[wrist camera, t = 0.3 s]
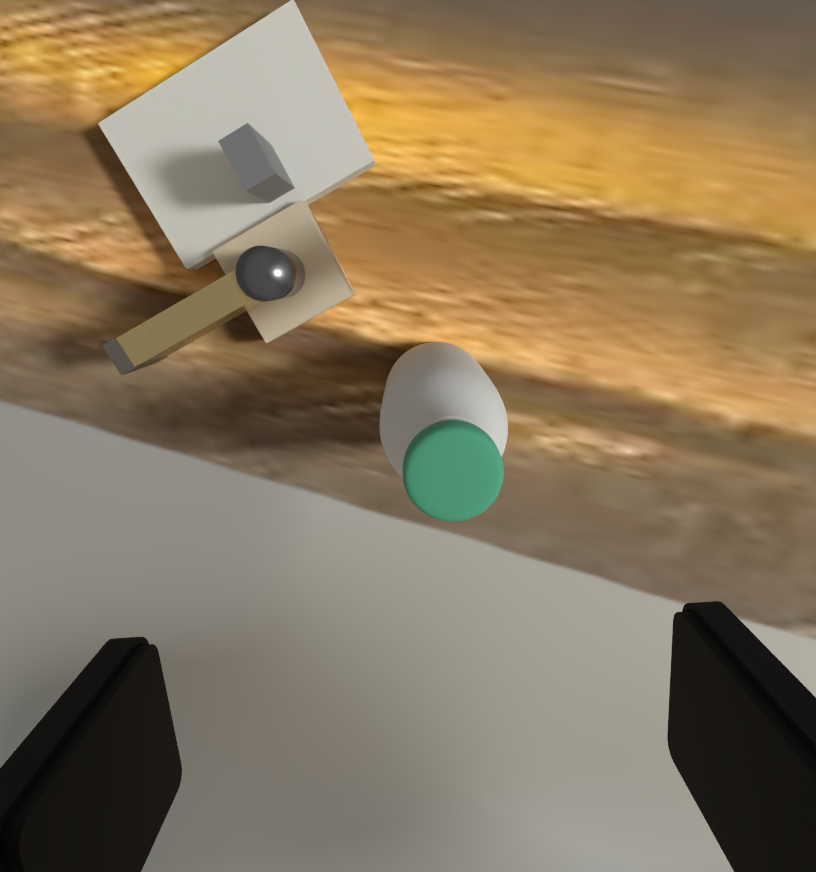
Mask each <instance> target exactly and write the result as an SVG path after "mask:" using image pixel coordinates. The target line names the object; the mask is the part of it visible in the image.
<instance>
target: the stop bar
mask: <svg viewBox="0 0 816 872" xmlns="http://www.w3.org/2000/svg"><path fill="white" fill-rule="evenodd" d="M304 282H305V268H304V265H303V263H302V261H301V260H300V259H299V257H298V256H297V255H295V254H294V253H292V252H291V251H288V250H284V249H279V248H274V247H268V246H254V247H251V248H249V249H247V250H246V251H245V252H244V253H242V255H241V256H240V258H239V259H238V261H237V265H236V269H235V270H234V271H232V272H230V273H228V274H227V275H225V276H223V277H221V278H220V279H218V280H216V281H214V282H213V283H211V284H209V285H208V286H206V287H204V288H202V289H201V290H199V291H197V292H195V293H194V294H192V295H190V296H188V297H187V298H185V299H183V300H182V301H180V302H178V303H176V304H175V305H173V306H171V307H169V308H168V309H166V310H164V311H162V312H161V313H159V314H157V315H155V316H154V317H152V318H150V319H149V320H147V321H145V322H143V323H142V324H140V325H138V326H136V327H135V328H133V329H131V330H129V331H128V332H126V333H124V334H123V335H121V336H119V337H116V338H114V339H112V340H110V341H108V342H107V343H105V344H103V345H102V347H103V348H104V350H105V351H106V353H107V354H108V356H109V357H110V359H111V360H112V362H113V363H114V365H115V366H116V368H117V369H118V371H119V372H120V374H121V375H124V374H127V373H130V372H132V371H135V370H138V369H141V368H144V367H147V366H149V365H152V364H155V363H157V362H159V361H161V360H163V359H164V358H166V357H168V355H170V354H172V353H173V352H175V351H177V350H179V349H180V348H182V347H184V346H186V345H187V344H189V343H191V342H193V341H195V340H196V339H198V338H200V337H202V336H203V335H205V334H207V333H209V332H211V331H212V330H214V329H216V328H218V327H219V326H221V325H223V324H225V323H227V322H228V321H230V320H232V319H234V318H235V317H237V316H239V315H241V314H242V313H244V312H246V311H248V310H250V309H251V308H253V307H255V306H257V305H258V304H260V303H262V302H267V301H273V300H278V299H283V298H288V297H291V296H293V295H295V294H297V293H298V292H299V291H300V290H301V288H302V287H303V284H304Z"/></svg>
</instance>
